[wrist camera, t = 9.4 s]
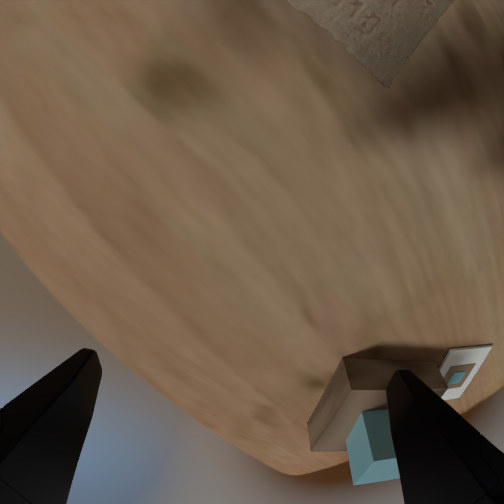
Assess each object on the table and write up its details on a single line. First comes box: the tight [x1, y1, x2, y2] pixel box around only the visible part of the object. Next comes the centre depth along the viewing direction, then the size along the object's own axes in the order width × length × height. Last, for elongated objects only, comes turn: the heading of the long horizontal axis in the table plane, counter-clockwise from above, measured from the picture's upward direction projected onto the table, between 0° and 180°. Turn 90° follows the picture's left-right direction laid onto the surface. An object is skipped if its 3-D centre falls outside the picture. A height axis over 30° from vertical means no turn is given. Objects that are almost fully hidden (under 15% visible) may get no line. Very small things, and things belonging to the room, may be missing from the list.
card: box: [439, 345, 492, 400], centre depth 27 cm, size 6×8×1 cm
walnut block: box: [307, 357, 448, 451], centre depth 26 cm, size 10×10×4 cm
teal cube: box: [346, 409, 400, 485], centre depth 22 cm, size 5×5×5 cm
